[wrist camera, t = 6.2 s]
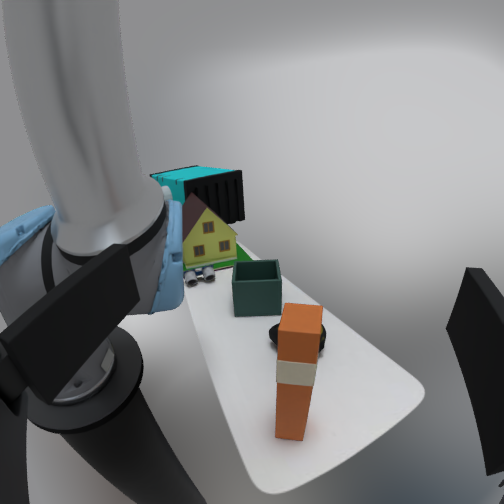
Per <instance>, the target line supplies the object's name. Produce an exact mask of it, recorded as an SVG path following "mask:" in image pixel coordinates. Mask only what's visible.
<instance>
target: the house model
mask: <svg viewBox="0 0 504 504" xmlns="http://www.w3.org/2000/svg"><path fill="white" fill-rule="evenodd" d="M235 235H237V233H236V232H235V231H234V230H233V229H232V228H231V227H229V226H228V225H227V224H226V223H225V222H224V221H223V220H222V219H221V218H220V217H219V216H218V215H217V214H216V213H215V212H214V211H213V210H212V209H210V208H209V207H208V206H207V205H206V204H205V203H204V202H202V201H201V200H200V199H199V198H198V197H197V196H196V195H194V194H193V193H192V192H191V194H190V195H189V197H188V198H187V200H186V201H185V202H184V204H183V205H182V242H183V271H187V270H191V269H195V268H199V267H204V266H208V265H212V264H213V270H216V269H221V268H226V267H230V266H234V261H252V259H251V258H250V257H249V256H248V255H247V253H246V252H245V251H244V250H243V249H242V248H241V247H240V246H239V245H238V244H237V243H236V239H235ZM183 276H184V274H183Z"/></svg>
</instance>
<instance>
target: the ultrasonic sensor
mask: <svg viewBox="0 0 504 504" xmlns="http://www.w3.org/2000/svg"><path fill="white" fill-rule="evenodd" d="M183 274H184V279H185V280H186V283H187V284H188V285H193V284H195V283H197V281H198V280H197V277H198V275H203V276H204V279H205V280H206V281H210V280H212V279H214V278H215V273H214V270H213V264H212V265H208V266H204V267H199V268H195V269H191V270H187V271H183ZM196 276H197V277H196Z"/></svg>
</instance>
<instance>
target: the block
mask: <svg viewBox="0 0 504 504" xmlns="http://www.w3.org/2000/svg"><path fill="white" fill-rule="evenodd" d="M322 311H323V306H318V305H306V304H294V303H285V305H284V309H283V313H282V317H281V320H280V324H279V328H278V357H277V372H276V382H277V399H276V428H275V437H276V438H282V439H290V440H299V441H303V437H304V432H305V427H306V422H307V417H308V412H309V406H310V401H311V395H312V389H313V386H314V381H315V374H316V368H317V360H318V351H319V343H320V335H321V324H322Z"/></svg>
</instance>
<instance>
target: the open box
mask: <svg viewBox="0 0 504 504" xmlns="http://www.w3.org/2000/svg"><path fill="white" fill-rule="evenodd" d="M232 292H233V303H234V313H235V317H239V316H267V315H281V309H282V279H281V273H280V267H279V262H278V259H277V260H252V261H234V266H233V275H232Z"/></svg>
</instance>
